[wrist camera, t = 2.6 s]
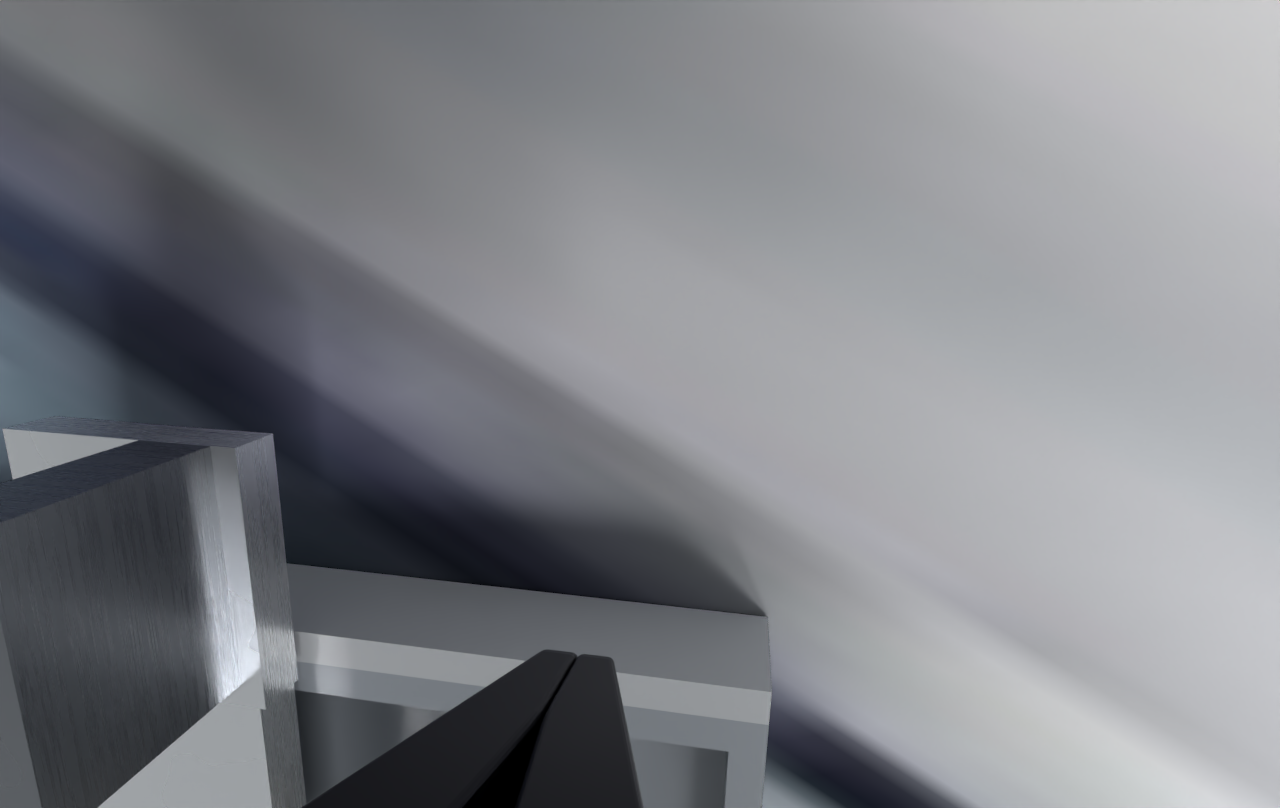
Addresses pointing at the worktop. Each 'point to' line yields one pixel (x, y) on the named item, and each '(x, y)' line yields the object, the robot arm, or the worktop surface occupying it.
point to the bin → (505, 638)
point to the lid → (145, 620)
